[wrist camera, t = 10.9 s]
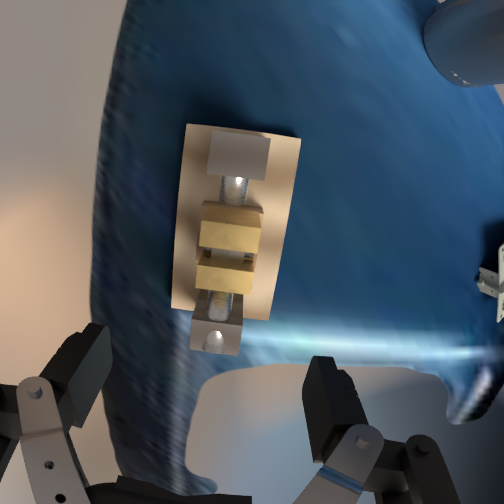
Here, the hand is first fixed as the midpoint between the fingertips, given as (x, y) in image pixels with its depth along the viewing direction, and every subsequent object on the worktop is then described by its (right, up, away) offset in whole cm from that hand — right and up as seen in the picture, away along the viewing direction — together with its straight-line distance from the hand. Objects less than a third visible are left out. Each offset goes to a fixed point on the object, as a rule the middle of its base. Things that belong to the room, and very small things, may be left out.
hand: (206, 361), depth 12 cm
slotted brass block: (0, +5, +15) cm, 16 cm away
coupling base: (0, +7, +19) cm, 20 cm away
